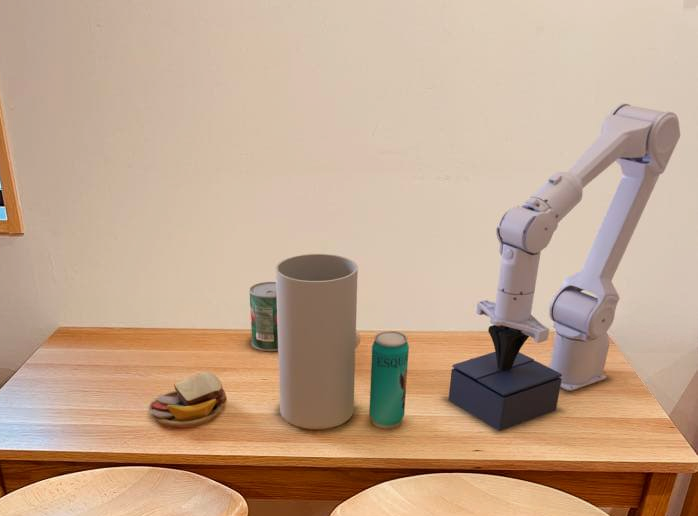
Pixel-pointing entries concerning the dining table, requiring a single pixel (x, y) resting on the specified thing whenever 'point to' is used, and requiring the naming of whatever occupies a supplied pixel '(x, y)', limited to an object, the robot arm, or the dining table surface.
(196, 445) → the dining table surface
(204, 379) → the toy sandwich meal
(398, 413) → the beverage can
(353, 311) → the cylinder vase
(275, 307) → the canned tomato
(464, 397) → the carton
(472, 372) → the flap
